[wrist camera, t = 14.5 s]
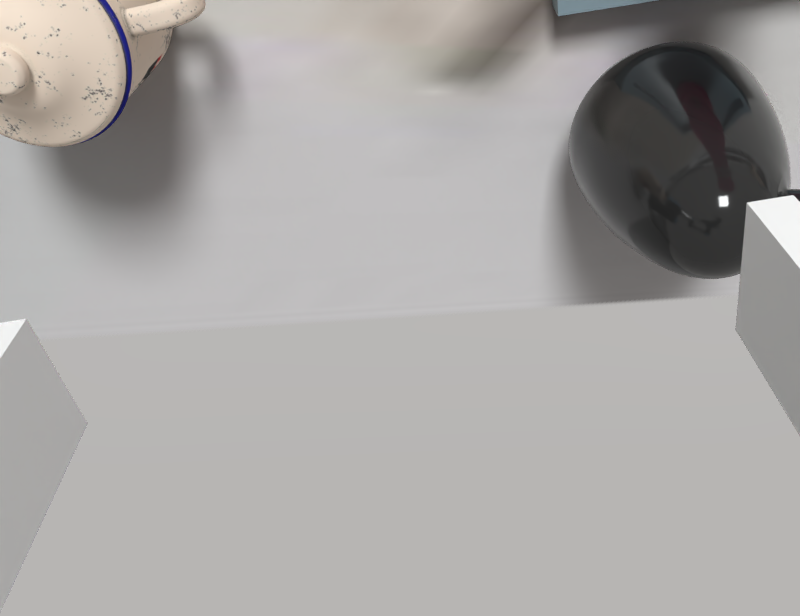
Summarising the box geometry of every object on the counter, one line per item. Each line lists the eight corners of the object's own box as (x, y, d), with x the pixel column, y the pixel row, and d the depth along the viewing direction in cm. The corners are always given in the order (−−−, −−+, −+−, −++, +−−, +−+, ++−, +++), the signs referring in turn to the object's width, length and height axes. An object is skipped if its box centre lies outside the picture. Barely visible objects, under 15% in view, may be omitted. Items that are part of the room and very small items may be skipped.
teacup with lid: (56, 99, 45) (-43, 190, 35) (-24, -68, 40) (-165, -15, 30) (251, 59, 43) (203, 143, 34) (194, -121, 38) (118, -82, 28)
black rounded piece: (747, 165, 46) (866, 314, 34) (575, 209, 48) (627, 364, 36) (738, -5, 40) (876, 98, 28) (543, 52, 42) (592, 172, 30)
